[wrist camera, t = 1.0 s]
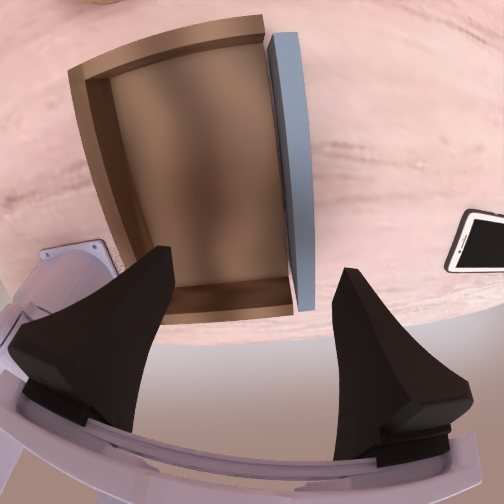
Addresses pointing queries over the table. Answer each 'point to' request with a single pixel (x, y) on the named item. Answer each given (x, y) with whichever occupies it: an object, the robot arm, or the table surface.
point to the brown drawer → (191, 164)
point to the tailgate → (295, 161)
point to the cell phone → (477, 244)
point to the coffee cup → (101, 1)
